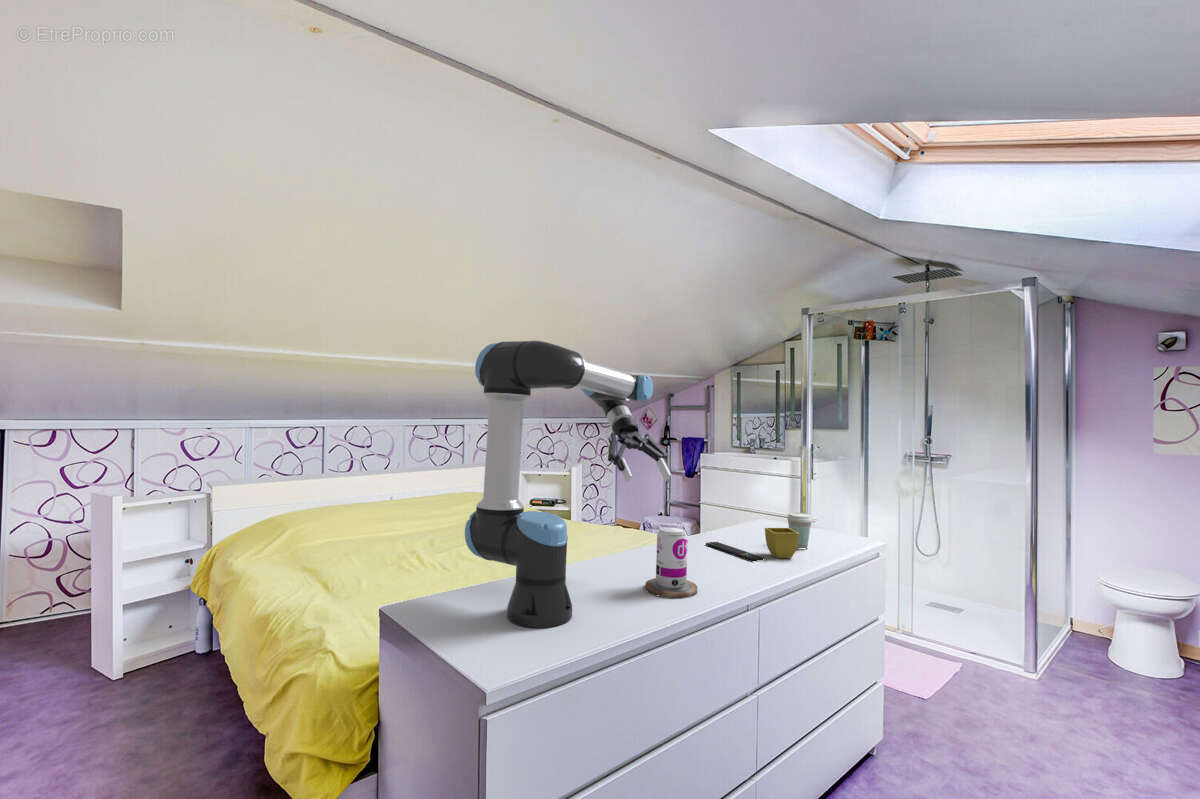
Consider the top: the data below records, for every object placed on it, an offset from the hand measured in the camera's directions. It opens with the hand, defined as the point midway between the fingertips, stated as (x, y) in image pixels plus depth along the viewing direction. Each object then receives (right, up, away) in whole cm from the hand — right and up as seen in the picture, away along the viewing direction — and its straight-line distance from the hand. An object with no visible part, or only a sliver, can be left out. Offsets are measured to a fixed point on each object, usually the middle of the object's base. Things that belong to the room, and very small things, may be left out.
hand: (649, 478), depth 164 cm
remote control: (+32, -31, +35) cm, 56 cm away
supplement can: (+5, -28, -8) cm, 30 cm away
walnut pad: (+5, -29, -8) cm, 31 cm away
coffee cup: (+58, -31, +44) cm, 79 cm away
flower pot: (+47, -31, +31) cm, 64 cm away
